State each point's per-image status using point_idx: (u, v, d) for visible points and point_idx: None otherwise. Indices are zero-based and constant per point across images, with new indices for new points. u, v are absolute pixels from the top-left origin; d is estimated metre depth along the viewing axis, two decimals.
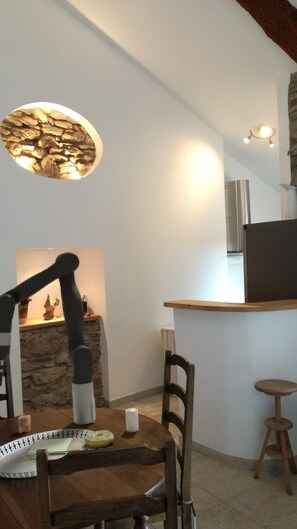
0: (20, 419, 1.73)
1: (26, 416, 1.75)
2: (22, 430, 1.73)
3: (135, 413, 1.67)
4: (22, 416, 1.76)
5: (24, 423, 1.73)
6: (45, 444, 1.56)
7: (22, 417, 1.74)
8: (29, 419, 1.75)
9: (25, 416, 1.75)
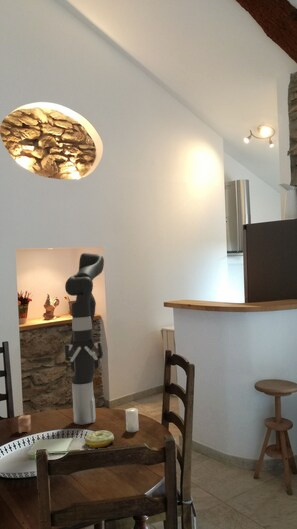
0: (20, 419, 1.73)
1: (26, 416, 1.75)
2: (22, 430, 1.73)
3: (135, 413, 1.67)
4: (22, 416, 1.76)
5: (24, 423, 1.73)
6: (45, 444, 1.56)
7: (22, 417, 1.74)
8: (29, 419, 1.75)
9: (25, 416, 1.75)
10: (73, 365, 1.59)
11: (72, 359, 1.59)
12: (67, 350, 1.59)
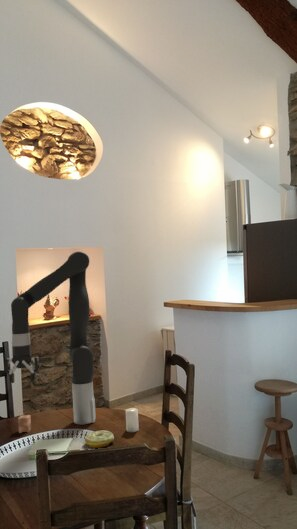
0: (20, 419, 1.73)
1: (26, 416, 1.75)
2: (22, 430, 1.73)
3: (135, 413, 1.67)
4: (22, 416, 1.76)
5: (24, 423, 1.73)
6: (45, 444, 1.56)
7: (22, 417, 1.74)
8: (29, 419, 1.75)
9: (25, 416, 1.75)
10: (11, 377, 1.75)
11: (11, 372, 1.75)
12: (6, 363, 1.75)
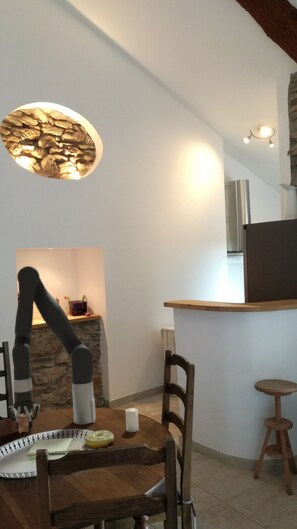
0: (20, 419, 1.73)
1: (26, 416, 1.75)
2: (22, 430, 1.73)
3: (135, 413, 1.67)
4: (22, 416, 1.76)
5: (24, 423, 1.73)
6: (45, 444, 1.56)
7: (22, 417, 1.74)
8: None
9: (25, 416, 1.75)
10: None
11: (17, 419, 1.74)
12: (10, 412, 1.74)
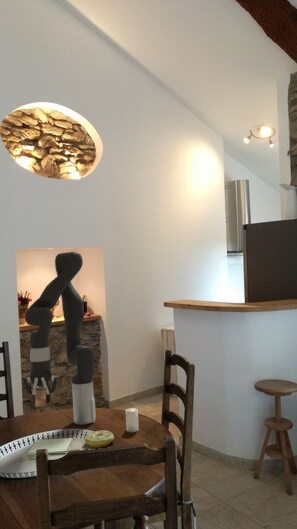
0: (37, 391, 1.58)
1: (43, 389, 1.60)
2: (39, 403, 1.57)
3: (135, 413, 1.67)
4: (39, 389, 1.60)
5: (41, 396, 1.58)
6: (45, 444, 1.56)
7: (39, 389, 1.59)
8: None
9: (42, 389, 1.60)
10: None
11: (34, 392, 1.59)
12: (26, 383, 1.59)
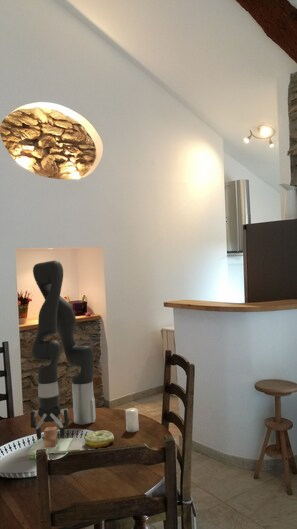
0: (46, 432, 1.53)
1: (52, 428, 1.55)
2: (48, 444, 1.53)
3: (135, 413, 1.67)
4: (48, 428, 1.56)
5: (50, 436, 1.53)
6: None
7: (48, 429, 1.54)
8: (56, 432, 1.55)
9: (51, 428, 1.55)
10: (38, 433, 1.54)
11: (38, 426, 1.54)
12: (32, 417, 1.54)
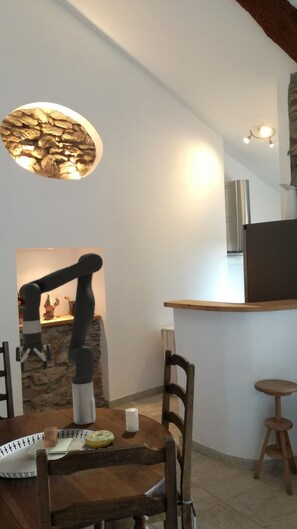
0: (46, 432, 1.53)
1: (52, 428, 1.55)
2: (48, 444, 1.53)
3: (135, 413, 1.67)
4: (48, 428, 1.56)
5: (50, 436, 1.53)
6: None
7: (48, 429, 1.54)
8: (56, 432, 1.55)
9: (51, 428, 1.55)
10: (23, 366, 1.70)
11: (22, 360, 1.70)
12: (17, 352, 1.70)
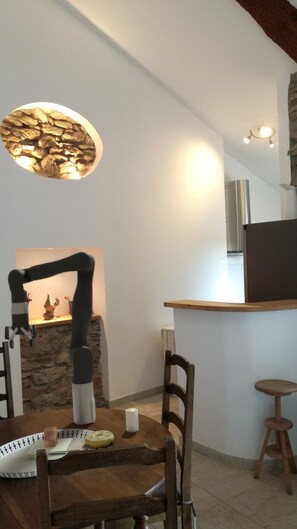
0: (46, 432, 1.53)
1: (52, 428, 1.55)
2: (48, 444, 1.53)
3: (135, 413, 1.67)
4: (48, 428, 1.56)
5: (50, 436, 1.53)
6: None
7: (48, 429, 1.54)
8: (56, 432, 1.55)
9: (51, 428, 1.55)
10: (11, 343, 1.88)
11: (10, 338, 1.88)
12: (6, 330, 1.88)
